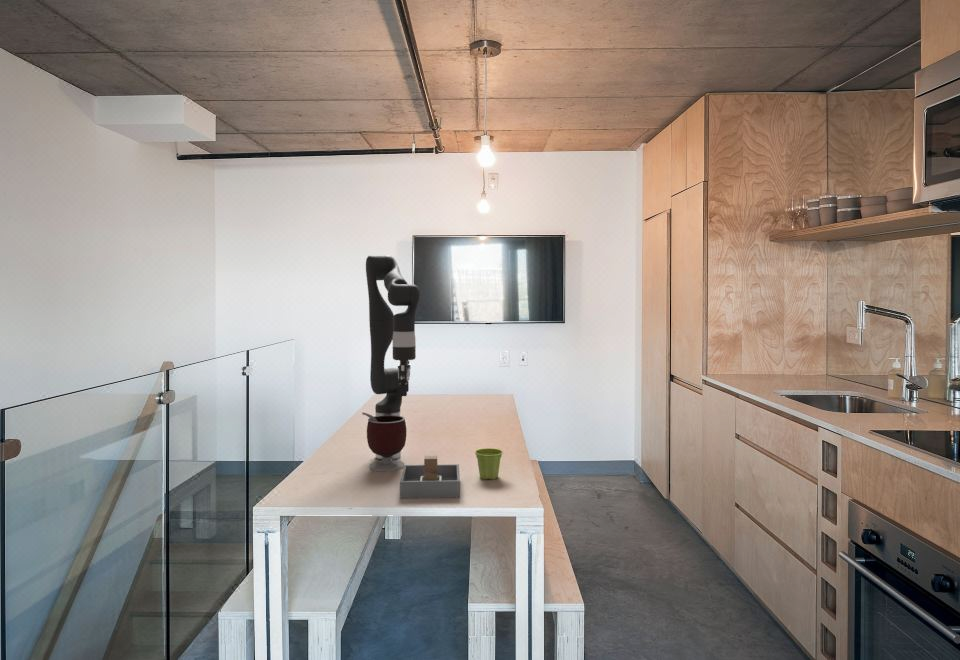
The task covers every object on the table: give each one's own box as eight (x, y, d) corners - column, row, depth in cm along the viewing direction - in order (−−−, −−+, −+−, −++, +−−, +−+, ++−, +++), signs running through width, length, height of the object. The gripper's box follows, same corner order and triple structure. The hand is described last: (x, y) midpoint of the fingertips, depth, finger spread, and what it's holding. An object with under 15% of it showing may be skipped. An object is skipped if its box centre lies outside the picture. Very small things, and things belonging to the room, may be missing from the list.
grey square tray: (404, 480, 203) (404, 465, 203) (458, 479, 204) (458, 464, 204) (399, 498, 186) (399, 481, 185) (460, 497, 186) (459, 481, 186)
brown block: (424, 483, 197) (424, 455, 196) (437, 483, 197) (437, 455, 196) (424, 487, 193) (424, 458, 192) (437, 487, 193) (437, 458, 192)
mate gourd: (401, 459, 228) (401, 405, 227) (411, 469, 215) (410, 412, 214) (359, 463, 223) (358, 408, 221) (366, 474, 210) (366, 416, 209)
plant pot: (468, 476, 207) (468, 451, 206) (488, 471, 214) (488, 446, 213) (488, 483, 200) (488, 456, 200) (508, 477, 207) (508, 451, 206)
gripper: (414, 347, 197) (414, 397, 198) (416, 343, 211) (416, 390, 212) (390, 347, 196) (390, 397, 197) (394, 343, 211) (394, 390, 212)
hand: (404, 393), depth 205 cm, fingers open, 8 cm apart
